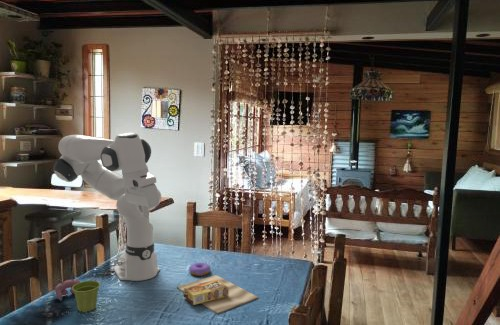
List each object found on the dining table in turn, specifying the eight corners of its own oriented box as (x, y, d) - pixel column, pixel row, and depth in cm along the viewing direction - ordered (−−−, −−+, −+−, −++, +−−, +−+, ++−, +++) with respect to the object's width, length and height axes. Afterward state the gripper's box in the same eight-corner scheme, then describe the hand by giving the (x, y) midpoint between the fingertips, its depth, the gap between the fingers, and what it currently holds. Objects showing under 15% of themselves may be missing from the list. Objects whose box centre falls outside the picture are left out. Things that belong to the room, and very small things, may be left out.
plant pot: (72, 317, 133) (71, 293, 132) (72, 305, 142) (72, 282, 141) (101, 312, 137) (100, 289, 136) (99, 301, 145) (99, 279, 144)
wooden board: (176, 288, 158) (176, 286, 158) (215, 276, 171) (215, 274, 171) (217, 314, 137) (217, 312, 137) (258, 298, 151) (258, 296, 151)
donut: (189, 268, 180) (191, 258, 179) (208, 272, 180) (211, 262, 180) (187, 276, 170) (190, 266, 169) (207, 280, 171) (210, 270, 170)
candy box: (192, 305, 142) (228, 297, 150) (193, 294, 141) (229, 286, 150) (183, 296, 149) (218, 288, 157) (183, 286, 149) (218, 278, 157)
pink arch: (81, 295, 153) (78, 277, 155) (85, 293, 150) (82, 275, 152) (55, 302, 146) (52, 284, 148) (59, 301, 143) (55, 282, 145)
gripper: (116, 179, 140) (125, 215, 142) (140, 183, 124) (149, 223, 127) (132, 174, 144) (140, 209, 146) (158, 178, 128) (166, 217, 131)
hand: (145, 216), depth 136 cm, fingers closed
